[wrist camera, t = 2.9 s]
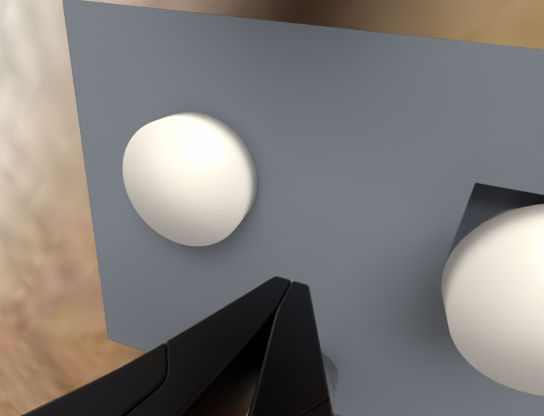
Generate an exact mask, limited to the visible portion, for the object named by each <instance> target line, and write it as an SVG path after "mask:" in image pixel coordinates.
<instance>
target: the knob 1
mask: <svg viewBox="0 0 544 416" xmlns="http://www.w3.org/2000/svg"><path fill="white" fill-rule="evenodd" d="M123 179H124V184H125V188H126V191H127V194H128V197H129V199H130V201H131V203H132V205H133V206H134V208H135V210H136V211H137V213H138V214H139V215H140V216H141V218H142V219H143V220H144V221H145V222H146V223H147V224H148V225H149V226H150V227H151V228H152V229H153V230H155V231H156V232H157V233H159V234H160V235H162V236H164V237H165V238H167V239H169V240H171V241H174V242H176V243H179V244H183V245H188V246H207V245H212V244H214V243H217V242H219V241H221V240H223V239H225V238H226V237H227V236H229V235H230V234H231V233H232V232H233V231H234V230H235V228H236V227H237V226H238V225H239V224H240V222H241V221H242V220H243V219H244V217H245V216H246V215H247V214H248V212H249V211H250V209H251V207H252V205H253V203H254V201H255V197H256V193H257V183H258V179H257V171H256V167H255V163H254V160H253V157H252V155H251V153H250V151H249V149H248V147H247V146H246V144H245V143H244V141H243V140H242V139H241V137H240V136H239V135H238V134H237V133H236V132H235V131H234V130H233V129H232V128H231V127H230V126H228V125H227V124H225V123H224V122H223V121H221V120H219V119H217V118H215V117H213V116H210V115H208V114H204V113H200V112H181V113H176V114H173V115H170V116H167V117H164V118H162V119H159V120H156V121H153V122H151V123H148V124H147V125H145V126H143V127H142V128H141V129H139V130H138V131H137V132H136V133H135V134H134V136H133V137H132V138H131V140H130V141H129V143H128V145H127V148H126V150H125V154H124V158H123Z"/></svg>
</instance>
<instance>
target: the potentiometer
mask: <svg viewBox="0 0 544 416" xmlns="http://www.w3.org/2000/svg"><path fill="white" fill-rule="evenodd" d="M322 357H323V362H324V367H325V373H326V378H327V383H328V388H329V394H330V401H331V403H332V408H334V401H335V395H336V388H337V381H338V371H337V368H336V366H335V364H334V363H333V362H332V360H331V359H330V358H328V357H327V356H326V355H325V354H323V353H322Z"/></svg>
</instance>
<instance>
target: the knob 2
mask: <svg viewBox="0 0 544 416" xmlns="http://www.w3.org/2000/svg"><path fill="white" fill-rule="evenodd" d="M441 290H442V298H443V302H444V307H445V312H446V317H447V322H448V326H449V331H450V335H451V337H452V339H453V342H454V344H455V346H456V347H457V349H458V350H459V352H460V353H461V355H462V356H463V357H464V358H465V359H466V360H467V361H468V362H469V363H470V364H471V365H472V366H473V367H474V368H475V369H477V370H478V371H479V372H481V373H482V374H484V375H485V376H487V377H488V378H490V379H492V380H494V381H496V382H498V383H500V384H502V385H505V386H507V387H510V388H513V389H516V390H519V391H522V392H526V393H530V394H534V395H541V396H544V204H538V205H532V206H527V207H522V208H513V209H506V210H502V211H499V212H496V213H494V214H492V215H491V216H489V217H488V218H486V219H485V220H484V221H483V222H482V223H481V224H480V225H479V226H478V227H477V228H475V229H474V230H472V231H471V232H470V233H469V234H468V235H466V236H465V237H464V238H463V239H462V240H461V241H460V242H459V244H458V245H457V246H456V247H455V248H454V250H453V251H452V253H451V254H450V256H449V258H448V260H447V262H446V264H445V267H444V270H443V274H442V281H441Z"/></svg>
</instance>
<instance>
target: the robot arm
mask: <svg viewBox="0 0 544 416" xmlns="http://www.w3.org/2000/svg"><path fill="white" fill-rule="evenodd" d="M249 408H250V410H249ZM248 410H249V413H248V416H334V414H333V408H332V403H331V401H330V394H329V388H328V383H327V378H326V373H325V367H324V362H323V357H322V351H321V346H320V341H319V336H318V330H317V325H316V320H315V314H314V309H313V304H312V299H311V293H310V288H309V286H308V285H307V284H303V283H300V282H296V281H293V282H292V283H291V281H290V280H289V279H286V278H282V277H279V276H274V277H272V278H271V279H269V280H267V281H266V282H264V283H262V284H261V285H259V286H257V287H256V288H254V289H252V290H251V291H249V292H247V293H246V294H244V295H242V296H241V297H239V298H237V299H236V300H234V301H232V302H231V303H229V304H227V305H226V306H224V307H222V308H221V309H219V310H217V311H216V312H214V313H212V314H211V315H209V316H207V317H206V318H204V319H203V320H201V321H199V322H198V323H196V324H194V325H193V326H191V327H189V328H188V329H186V330H184V331H183V332H181V333H179V334H178V335H176V336H174V337H173V338H171V339H169V340H168V341H167V342H166V343H162V344H161V345H159V346H157V347H156V348H154V349H152V350H151V351H149V352H147V353H145V354H144V355H142V356H140V357H138V358H137V359H135V360H133V361H131V362H130V363H128V364H126V365H124V366H122V367H120V368H118V369H116V370H114V371H112V372H110V373H108V374H106V375H104V376H102V377H100V378H98V379H96V380H94V381H92V382H90V383H88V384H86V385H84V386H82V387H80V388H78V389H76V390H74V391H71V392H69V393H67V394H65V395H63V396H61V397H59V398H57V399H55V400H53V401H51V402H49V403H46V404H44V405H42V406H40V407H38V408H36V409H34V410H32V411H30V412H28V413H25V414H23V415H21V416H246V414H247V412H248Z"/></svg>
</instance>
